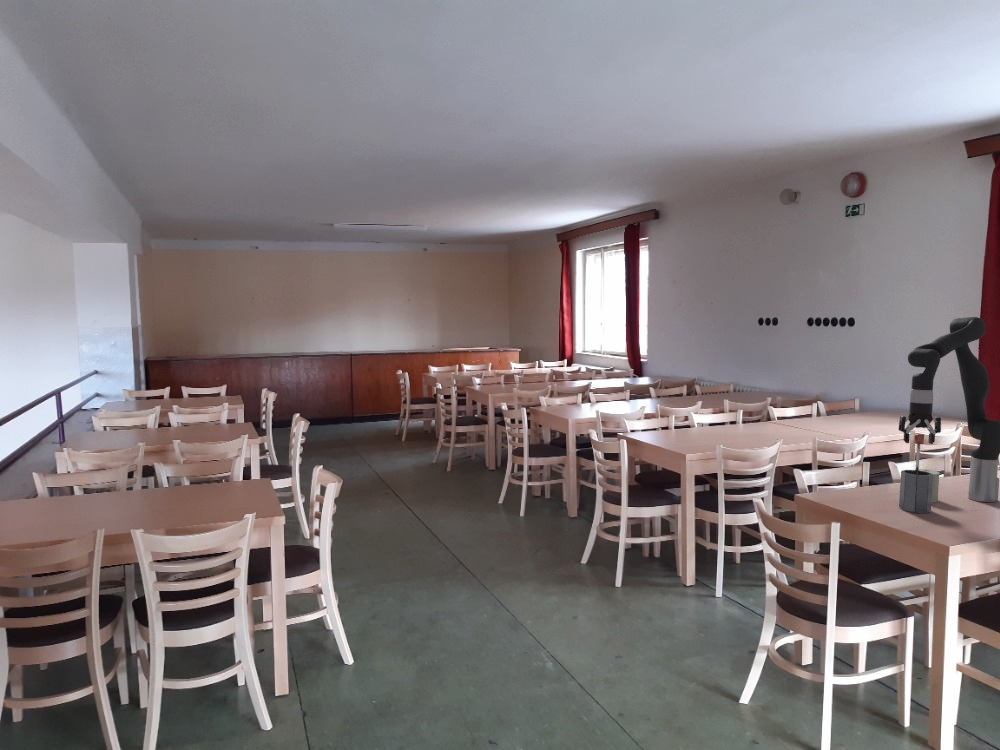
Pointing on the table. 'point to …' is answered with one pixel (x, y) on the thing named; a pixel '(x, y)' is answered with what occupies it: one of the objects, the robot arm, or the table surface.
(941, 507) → the table surface
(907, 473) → the grey faceted pot
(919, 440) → the plunger
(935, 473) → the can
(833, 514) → the table surface
